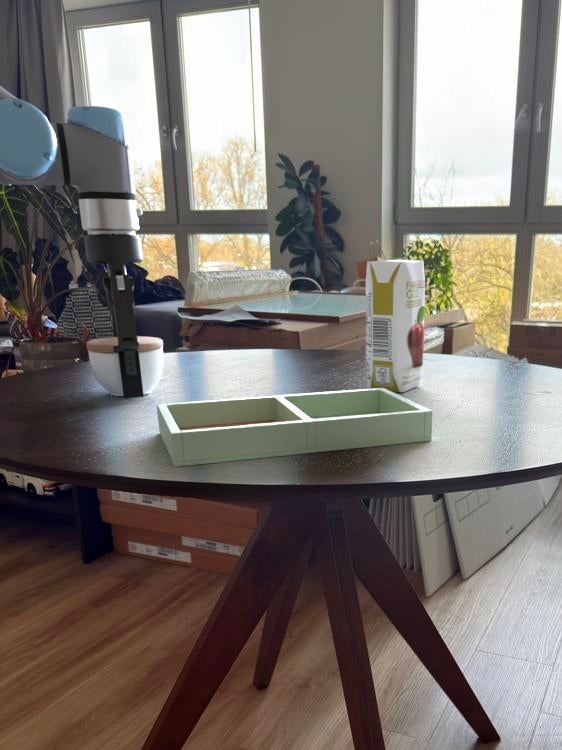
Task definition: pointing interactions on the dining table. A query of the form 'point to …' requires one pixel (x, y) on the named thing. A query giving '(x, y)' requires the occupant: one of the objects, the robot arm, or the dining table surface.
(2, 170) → the robot arm
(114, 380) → the trinket box
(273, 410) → the divided tray
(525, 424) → the dining table surface
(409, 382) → the juice carton
